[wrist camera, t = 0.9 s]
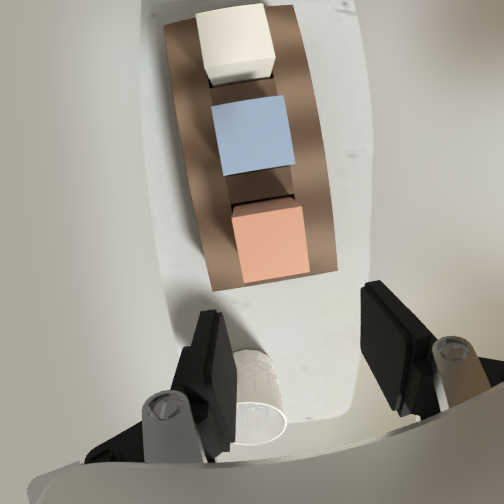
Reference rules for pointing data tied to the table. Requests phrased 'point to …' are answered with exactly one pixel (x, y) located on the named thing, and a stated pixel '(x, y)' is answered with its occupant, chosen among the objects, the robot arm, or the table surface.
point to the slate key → (253, 134)
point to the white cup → (257, 399)
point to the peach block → (270, 239)
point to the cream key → (236, 44)
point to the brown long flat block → (258, 181)
